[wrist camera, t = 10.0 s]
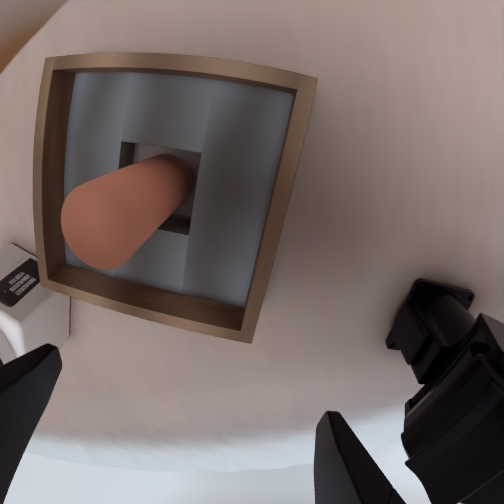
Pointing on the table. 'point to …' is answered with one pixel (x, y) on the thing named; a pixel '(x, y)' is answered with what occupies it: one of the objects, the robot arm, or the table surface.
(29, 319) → the container
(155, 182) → the peg
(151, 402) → the table surface
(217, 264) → the box
